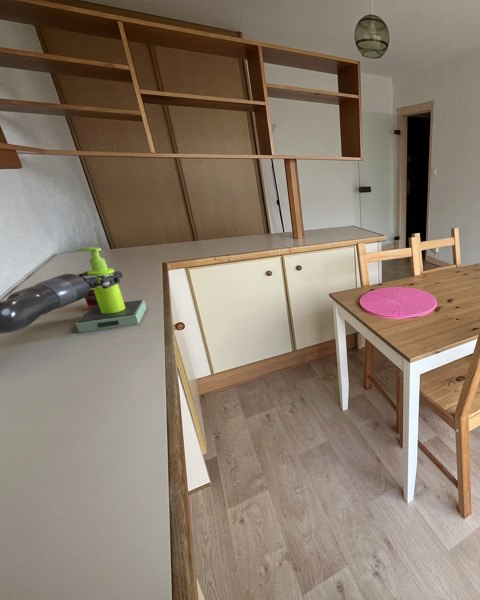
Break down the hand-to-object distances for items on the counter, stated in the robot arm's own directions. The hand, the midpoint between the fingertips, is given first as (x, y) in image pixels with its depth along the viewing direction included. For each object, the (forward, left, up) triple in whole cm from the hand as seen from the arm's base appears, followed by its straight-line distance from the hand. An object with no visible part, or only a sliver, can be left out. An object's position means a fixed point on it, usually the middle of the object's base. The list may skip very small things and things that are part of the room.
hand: (105, 274), depth 97 cm
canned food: (-7, +12, -15) cm, 20 cm away
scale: (-1, -2, -15) cm, 15 cm away
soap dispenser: (-1, -2, -12) cm, 12 cm away
